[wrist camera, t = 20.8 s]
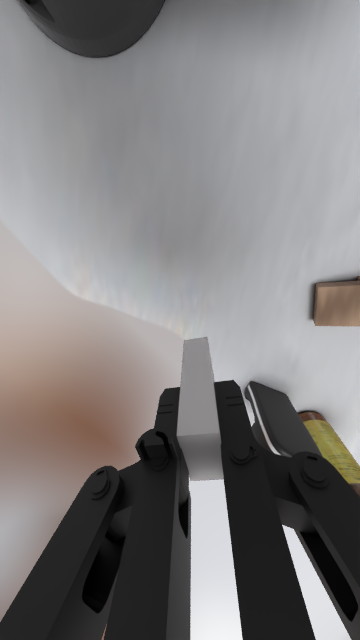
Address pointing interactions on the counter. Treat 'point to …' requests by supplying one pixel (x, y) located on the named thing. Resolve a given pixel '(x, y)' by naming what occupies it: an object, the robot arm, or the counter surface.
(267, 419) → the battery charger
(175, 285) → the counter surface
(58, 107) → the counter surface
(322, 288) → the domino
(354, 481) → the sauce bottle
